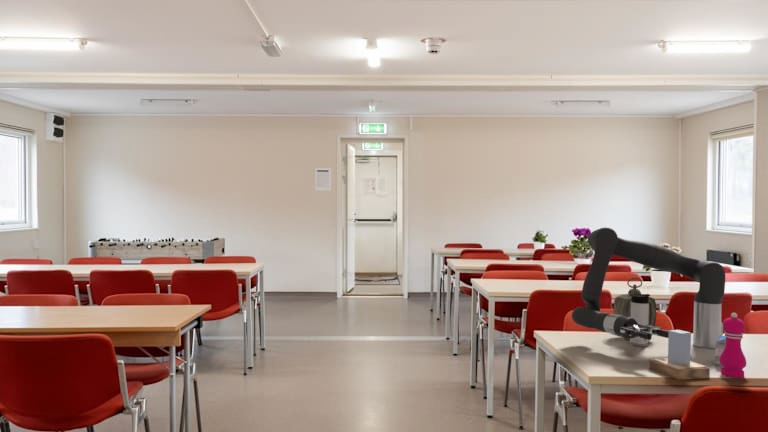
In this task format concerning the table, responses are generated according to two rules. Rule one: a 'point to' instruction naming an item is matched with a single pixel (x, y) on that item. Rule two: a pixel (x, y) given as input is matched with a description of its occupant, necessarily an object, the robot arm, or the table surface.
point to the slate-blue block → (679, 347)
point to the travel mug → (640, 316)
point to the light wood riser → (680, 369)
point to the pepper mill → (733, 348)
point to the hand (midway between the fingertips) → (659, 335)
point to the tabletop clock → (624, 304)
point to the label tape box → (719, 349)
